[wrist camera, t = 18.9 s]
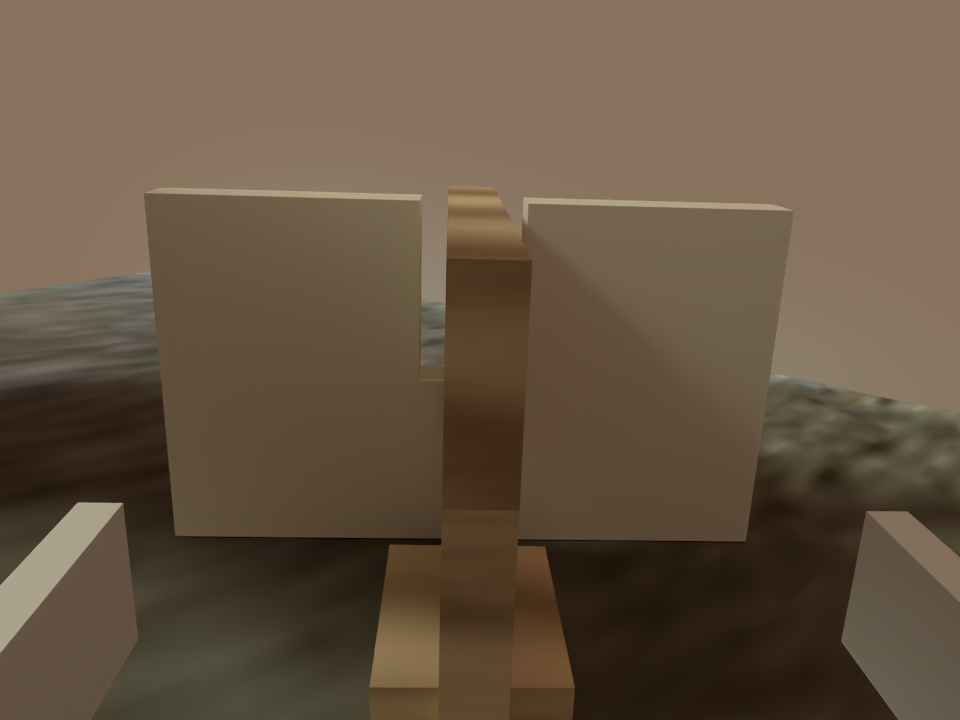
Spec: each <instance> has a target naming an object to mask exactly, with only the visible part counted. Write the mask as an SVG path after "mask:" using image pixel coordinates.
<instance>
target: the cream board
mask: <svg viewBox="0 0 960 720" xmlns="http://www.w3.org/2000/svg"><path fill="white" fill-rule="evenodd" d="M144 199H145V211H146V222H147V233H148V243H149V254H150V265H151V276H152V287H153V298H154V309H155V320H156V331H157V342H158V353H159V364H160V375H161V385H162V396H163V407H164V418H165V429H166V440H167V451H168V462H169V473H170V484H171V495H172V505H173V516H174V527H175V536H223V537H329V538H436V539H441V528H442V475H443V422H444V369H445V365H420V349H421V244H422V242H421V241H422V234H421V233H422V195H411V194H374V193H340V192H337V193H336V192H303V191H301V192H300V191H268V190H231V189H194V188H159V189H156V190H152V191H149V192H146V193H144ZM793 213H794V211H793V210H790V209H787V208H783V207H780V206H777V205H773V204H737V203H700V202H665V201H663V202H662V201H629V200H628V201H627V200H592V199H557V198H524V205H523V225H522V242H523V244H524V245H525V247H526V249H527V251H528V253H529V255H530V257H531V259H532V277H531V296H530V316H529V336H528V355H527V375H526V395H525V414H524V434H523V454H522V473H521V493H520V513H519V532H518V539H542V540H649V541H746V536H747V529H748V522H749V515H750V509H751V502H752V495H753V488H754V481H755V474H756V467H757V461H758V454H759V447H760V440H761V433H762V426H763V419H764V412H765V406H766V399H767V392H768V385H769V378H770V371H771V364H772V357H773V351H774V344H775V337H776V330H777V323H778V316H779V309H780V303H781V296H782V289H783V282H784V275H785V268H786V261H787V254H788V247H789V240H790V234H791V227H792V219H793Z"/></svg>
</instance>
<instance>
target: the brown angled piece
mask: <svg viewBox="0 0 960 720" xmlns="http://www.w3.org/2000/svg"><path fill="white" fill-rule="evenodd" d="M531 277H532V259H531V257H530V255H529V253H528V251H527V249H526V247H525V245H524V244H523V242H522V240H521V238H520V236H519V234H518V232H517V230H516V228H515V226H514V224H513V223H512V221H511V219H510V217H509V215H508V213H507V211H506V209H505V207H504V205H503V203H502V201H501V199H500V197H499V196H498V194H497V192H496V190H495V188H494V187H463V186H449V193H448V227H447V263H446V316H445V369H444V422H443V475H442V528H441V545H389V552H388V559H387V566H386V574H385V581H384V588H383V595H382V602H381V609H380V616H379V624H378V631H377V638H376V645H375V652H374V659H373V667H372V674H371V681H370V720H572V719H573V707H574V694H575V686H574V681H573V676H572V671H571V667H570V662H569V657H568V653H567V648H566V643H565V638H564V634H563V629H562V624H561V620H560V615H559V610H558V606H557V601H556V596H555V591H554V587H553V582H552V577H551V573H550V568H549V563H548V558H547V554H546V549H545V546H518V532H519V513H520V493H521V473H522V454H523V434H524V414H525V395H526V375H527V355H528V336H529V316H530V296H531Z"/></svg>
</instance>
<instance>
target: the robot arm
mask: <svg viewBox="0 0 960 720" xmlns="http://www.w3.org/2000/svg"><path fill="white" fill-rule="evenodd" d="M137 640H138V632H137V623H136V614H135V606H134V597H133V588H132V579H131V570H130V561H129V552H128V543H127V534H126V525H125V516H124V507H123V503H77V504H76V505H75V506H74V507H73V508H72V509H71V510H70V511H69V513H68V514H67V515H66V516H65V517H64V518H63V519H62V520H61V521H60V522H59V523H58V524H57V525H56V526H55V528H54V529H53V530H52V531H51V532H50V533H49V534H48V535H47V536H46V537H45V538H44V539H43V540H42V541H41V543H40V544H39V545H38V546H37V547H36V548H35V549H34V550H33V551H32V552H31V553H30V554H29V555H28V556H27V558H26V559H25V560H24V561H23V562H22V563H21V564H20V565H19V566H18V567H17V568H16V569H15V570H14V571H13V573H12V574H11V575H10V576H9V577H8V578H7V579H6V580H5V581H4V582H3V583H2V584H1V585H0V720H91V719H92V717H93V716H94V714H95V712H96V711H97V709H98V707H99V705H100V704H101V702H102V700H103V699H104V697H105V695H106V693H107V692H108V690H109V688H110V686H111V685H112V683H113V681H114V680H115V678H116V676H117V674H118V673H119V671H120V669H121V668H122V666H123V664H124V662H125V661H126V659H127V657H128V656H129V654H130V652H131V650H132V649H133V647H134V645H135V644H136V642H137ZM841 642H842V643H843V645H844V646H845V647H846V649H847V650H848V652H849V653H850V654H851V656H852V657H853V658H854V660H855V661H856V663H857V664H858V665H859V667H860V668H861V669H862V671H863V672H864V674H865V675H866V676H867V678H868V679H869V680H870V682H871V683H872V684H873V686H874V687H875V689H876V690H877V691H878V693H879V694H880V695H881V697H882V698H883V700H884V701H885V702H886V704H887V705H888V706H889V708H890V709H891V711H892V712H893V713H894V715H895V716H896V717H897V719H898V720H960V557H958V556H957V555H956V554H955V553H954V552H953V551H952V550H951V549H949V548H948V547H947V546H946V545H945V544H944V543H943V542H942V541H940V540H939V539H938V538H937V537H936V536H935V535H934V534H933V533H931V532H930V531H929V530H928V529H927V528H926V527H925V526H924V525H922V524H921V523H920V522H919V521H918V520H917V519H916V518H915V517H913V516H912V515H911V514H910V513H909V512H903V511H866V515H865V520H864V525H863V531H862V536H861V541H860V546H859V551H858V556H857V562H856V567H855V572H854V577H853V582H852V588H851V593H850V598H849V603H848V608H847V613H846V619H845V624H844V629H843V634H842V639H841Z"/></svg>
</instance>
